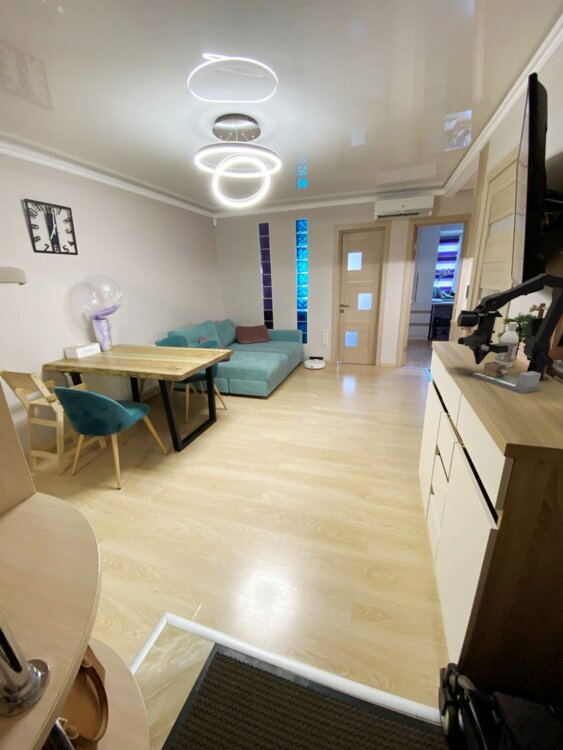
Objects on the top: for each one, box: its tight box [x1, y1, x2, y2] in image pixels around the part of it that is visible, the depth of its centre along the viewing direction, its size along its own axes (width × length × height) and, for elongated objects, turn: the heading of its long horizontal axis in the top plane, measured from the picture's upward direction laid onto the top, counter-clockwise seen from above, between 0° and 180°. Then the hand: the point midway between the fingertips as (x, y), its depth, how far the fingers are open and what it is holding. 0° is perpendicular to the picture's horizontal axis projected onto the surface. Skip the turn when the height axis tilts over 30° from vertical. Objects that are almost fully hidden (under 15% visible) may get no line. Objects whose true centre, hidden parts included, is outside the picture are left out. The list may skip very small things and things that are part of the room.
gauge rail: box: [472, 371, 542, 395], centre depth 120 cm, size 10×20×6 cm, turn 21°
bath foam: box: [494, 321, 520, 369], centre depth 139 cm, size 7×7×20 cm
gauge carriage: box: [482, 361, 509, 378], centre depth 123 cm, size 7×8×5 cm
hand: (477, 364), depth 131 cm, fingers closed
